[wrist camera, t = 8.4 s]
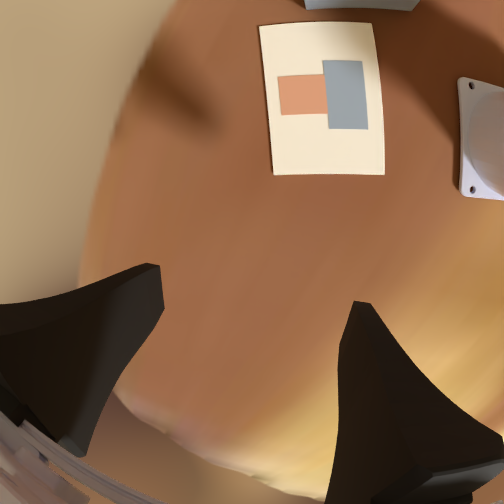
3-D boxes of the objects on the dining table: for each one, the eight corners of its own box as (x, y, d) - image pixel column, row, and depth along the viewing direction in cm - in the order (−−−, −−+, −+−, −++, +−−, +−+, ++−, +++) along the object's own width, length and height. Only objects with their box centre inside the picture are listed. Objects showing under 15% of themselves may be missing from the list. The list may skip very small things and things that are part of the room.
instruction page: (371, 24, 12) (371, 22, 12) (383, 174, 16) (384, 175, 16) (259, 27, 14) (258, 26, 14) (274, 174, 18) (273, 175, 18)
